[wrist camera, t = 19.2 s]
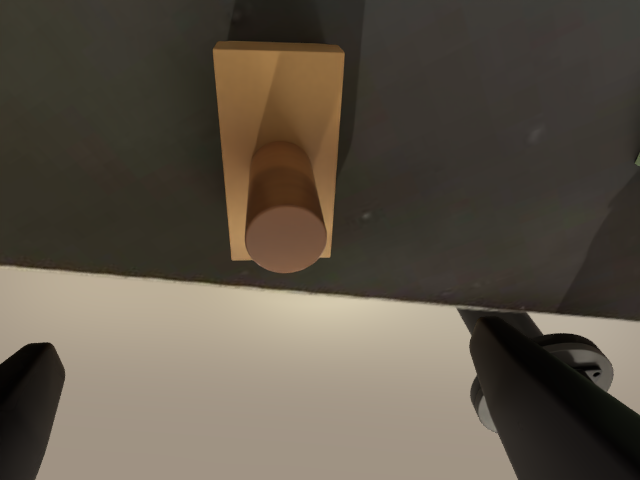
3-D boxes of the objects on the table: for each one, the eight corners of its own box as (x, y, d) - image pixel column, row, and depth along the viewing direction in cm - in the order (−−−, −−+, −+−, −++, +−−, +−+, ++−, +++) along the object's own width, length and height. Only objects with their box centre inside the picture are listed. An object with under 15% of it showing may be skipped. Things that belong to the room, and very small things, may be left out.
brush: (322, 221, 22) (348, 341, 15) (235, 223, 21) (221, 347, 14) (332, 38, 17) (378, 89, 10) (220, 34, 16) (189, 86, 9)
